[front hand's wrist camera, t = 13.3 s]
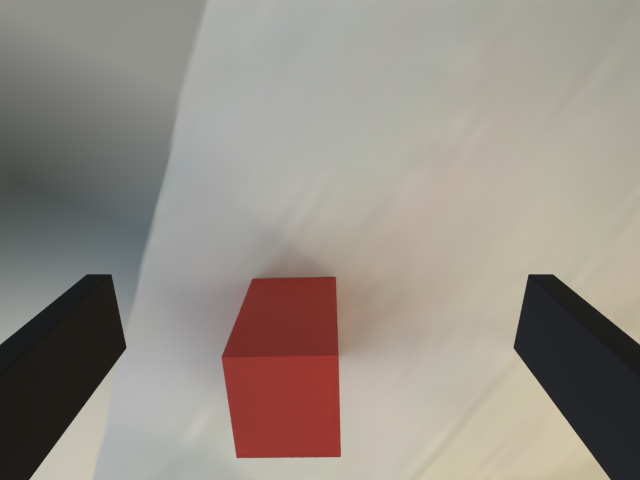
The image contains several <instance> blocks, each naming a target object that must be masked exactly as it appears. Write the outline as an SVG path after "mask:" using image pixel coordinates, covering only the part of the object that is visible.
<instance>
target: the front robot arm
mask: <svg viewBox="0 0 640 480" xmlns="http://www.w3.org/2000/svg"><path fill="white" fill-rule="evenodd" d="M125 349H126V343H125V338H124V334H123V329H122V324H121V319H120V314H119V309H118V304H117V300H116V295H115V290H114V285H113V280H112V275H108V274H107V275H105V274H104V275H103V274H102V275H101V274H91V275H90V274H87V275H86V276H85V277H83V278H82V279H81V280H80V281H78V282H77V283H76V284H75V285H73V286H72V287H71V288H70V289H68V290H67V291H66V292H65V293H64V294H62V295H61V296H60V297H59V298H57V299H56V300H55V301H54V302H52V303H51V304H50V305H49V306H48V307H46V308H45V309H44V310H43V311H41V312H40V313H39V314H38V315H36V316H35V317H34V318H33V319H31V320H30V321H29V322H28V323H27V324H25V325H24V326H23V327H22V328H20V329H19V330H18V331H17V332H16V333H14V334H13V335H12V336H11V337H9V338H8V339H7V340H6V341H4V342H3V343H2V344H1V345H0V480H29V479H30V478H31V477H32V475H33V474H34V472H35V471H36V470H37V468H38V467H39V466H40V464H41V463H42V462H43V460H44V459H45V458H46V456H47V455H48V454H49V452H50V451H51V449H52V448H53V447H54V445H55V444H56V443H57V441H58V440H59V439H60V437H61V436H62V435H63V433H64V432H65V430H66V429H67V428H68V426H69V425H70V424H71V422H72V421H73V420H74V418H75V417H76V416H77V414H78V413H79V412H80V410H81V409H82V407H83V406H84V405H85V403H86V402H87V401H88V399H89V398H90V397H91V395H92V394H93V393H94V391H95V390H96V388H97V387H98V386H99V384H100V383H101V382H102V380H103V379H104V378H105V376H106V375H107V374H108V372H109V371H110V370H111V368H112V367H113V365H114V364H115V363H116V361H117V360H118V359H119V357H120V356H121V355H122V353H123V352H124V351H125ZM514 349H515V351H516V352H517V353H518V355H519V356H520V357H521V359H522V360H523V361H524V363H525V364H526V365H527V367H528V368H529V370H530V371H531V372H532V374H533V375H534V376H535V378H536V379H537V380H538V382H539V383H540V384H541V386H542V387H543V389H544V390H545V391H546V393H547V394H548V395H549V397H550V398H551V399H552V401H553V402H554V403H555V405H556V406H557V407H558V409H559V410H560V412H561V413H562V414H563V416H564V417H565V418H566V420H567V421H568V422H569V424H570V425H571V426H572V428H573V429H574V431H575V432H576V433H577V435H578V436H579V437H580V439H581V440H582V441H583V443H584V444H585V445H586V447H587V448H588V449H589V451H590V452H591V454H592V455H593V456H594V458H595V459H596V460H597V462H598V463H599V464H600V466H601V467H602V468H603V470H604V471H605V473H606V474H607V475H608V477H609V478H610V479H611V480H640V345H639V344H638V343H637V342H636V341H634V340H633V339H632V338H631V337H630V336H628V335H627V334H626V333H625V332H623V331H622V330H621V329H620V328H618V327H617V326H616V325H615V324H613V323H612V322H611V321H610V320H609V319H607V318H606V317H605V316H604V315H602V314H601V313H600V312H599V311H597V310H596V309H595V308H594V307H592V306H591V305H590V304H589V303H588V302H586V301H585V300H584V299H583V298H581V297H580V296H579V295H578V294H576V293H575V292H574V291H573V290H572V289H570V288H569V287H568V286H567V285H565V284H564V283H563V282H562V281H560V280H559V279H558V278H557V277H555V276H554V275H553V274H529V275H528V280H527V285H526V290H525V295H524V300H523V304H522V309H521V314H520V319H519V324H518V329H517V334H516V338H515V343H514Z"/></svg>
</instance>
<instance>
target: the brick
mask: <svg viewBox="0 0 640 480" xmlns="http://www.w3.org/2000/svg"><path fill="white" fill-rule="evenodd" d="M222 363H223V370H224V377H225V383H226V390H227V397H228V403H229V410H230V417H231V423H232V430H233V437H234V443H235V450H236V457H237V458H282V457H341V446H340V403H339V361H338V331H337V302H336V278H335V277H323V278H280V279H252V281H251V284H250V286H249V289H248V291H247V294H246V297H245V299H244V302H243V304H242V307H241V309H240V312H239V314H238V317H237V319H236V322H235V325H234V327H233V330H232V332H231V335H230V337H229V340H228V342H227V345H226V347H225V350H224V353H223V355H222Z"/></svg>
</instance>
